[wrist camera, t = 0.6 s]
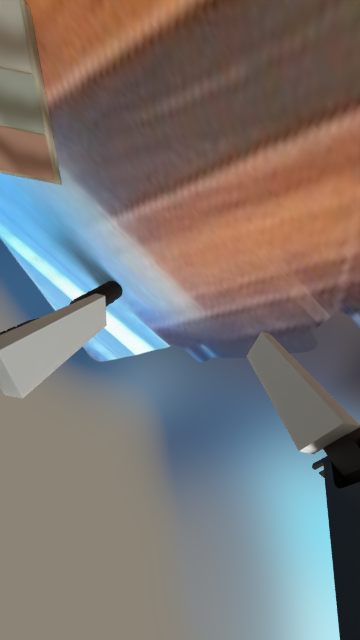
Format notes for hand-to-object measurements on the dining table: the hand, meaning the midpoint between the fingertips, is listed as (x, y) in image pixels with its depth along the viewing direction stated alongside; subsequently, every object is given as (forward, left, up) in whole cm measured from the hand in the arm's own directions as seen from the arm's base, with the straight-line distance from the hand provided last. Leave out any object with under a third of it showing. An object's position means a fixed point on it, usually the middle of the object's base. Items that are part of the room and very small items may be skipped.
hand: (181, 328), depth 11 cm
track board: (-24, -38, -27) cm, 53 cm away
